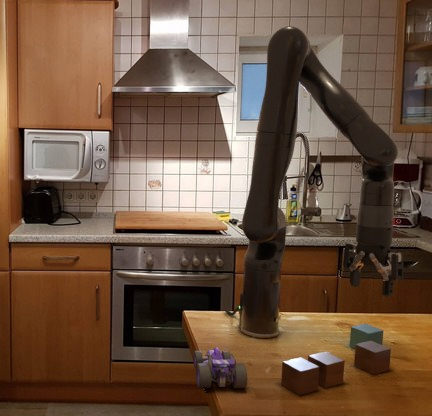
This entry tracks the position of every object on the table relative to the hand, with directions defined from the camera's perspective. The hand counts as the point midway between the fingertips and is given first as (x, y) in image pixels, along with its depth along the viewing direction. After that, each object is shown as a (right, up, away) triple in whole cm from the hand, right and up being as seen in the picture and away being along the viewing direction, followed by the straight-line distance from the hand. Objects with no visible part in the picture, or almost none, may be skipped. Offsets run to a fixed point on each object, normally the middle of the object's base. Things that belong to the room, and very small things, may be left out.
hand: (370, 291), depth 123 cm
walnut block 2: (-17, -16, -14) cm, 27 cm away
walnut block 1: (-23, -17, -17) cm, 33 cm away
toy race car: (-39, -16, -12) cm, 44 cm away
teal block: (0, -14, +2) cm, 14 cm away
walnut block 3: (-4, -16, -8) cm, 18 cm away
